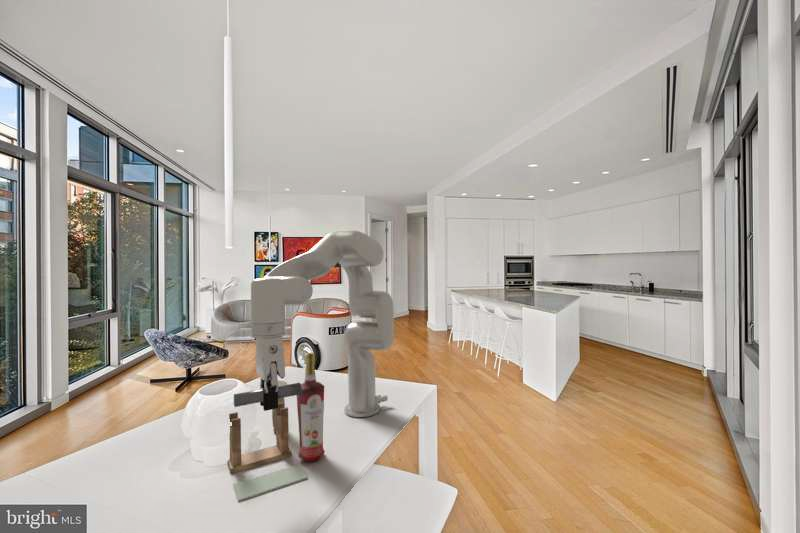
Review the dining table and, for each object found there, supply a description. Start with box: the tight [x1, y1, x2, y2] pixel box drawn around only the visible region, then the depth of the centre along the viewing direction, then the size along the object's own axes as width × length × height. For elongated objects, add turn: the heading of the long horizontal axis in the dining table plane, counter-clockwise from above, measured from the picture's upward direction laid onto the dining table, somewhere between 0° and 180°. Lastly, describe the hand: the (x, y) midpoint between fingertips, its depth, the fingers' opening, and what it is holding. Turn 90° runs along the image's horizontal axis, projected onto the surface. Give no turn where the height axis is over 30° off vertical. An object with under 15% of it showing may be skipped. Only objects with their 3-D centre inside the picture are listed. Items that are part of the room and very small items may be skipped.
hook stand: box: [226, 402, 293, 475], centre depth 97 cm, size 15×6×13 cm, turn 122°
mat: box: [233, 463, 308, 503], centre depth 87 cm, size 16×7×1 cm, turn 122°
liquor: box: [296, 352, 325, 463], centre depth 97 cm, size 7×7×28 cm
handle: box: [271, 380, 288, 434], centre depth 114 cm, size 5×6×15 cm
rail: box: [233, 382, 302, 408], centre depth 86 cm, size 15×3×3 cm, turn 122°
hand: (269, 406), depth 86 cm, fingers closed on rail, 2 cm apart
